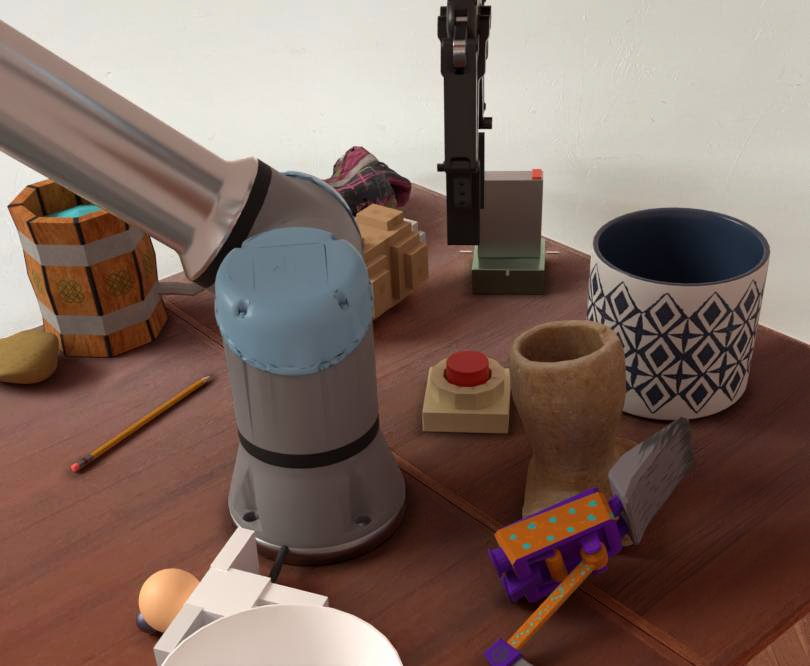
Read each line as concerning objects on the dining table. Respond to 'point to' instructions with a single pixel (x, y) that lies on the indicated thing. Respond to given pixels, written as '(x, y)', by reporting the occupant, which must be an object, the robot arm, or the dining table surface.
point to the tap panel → (508, 273)
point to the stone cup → (569, 408)
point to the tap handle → (512, 214)
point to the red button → (467, 369)
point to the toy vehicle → (585, 532)
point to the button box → (467, 402)
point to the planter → (680, 306)
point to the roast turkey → (392, 255)
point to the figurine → (210, 594)
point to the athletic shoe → (368, 181)
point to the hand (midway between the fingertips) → (466, 224)
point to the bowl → (286, 640)
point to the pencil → (137, 425)
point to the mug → (90, 273)
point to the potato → (28, 356)
